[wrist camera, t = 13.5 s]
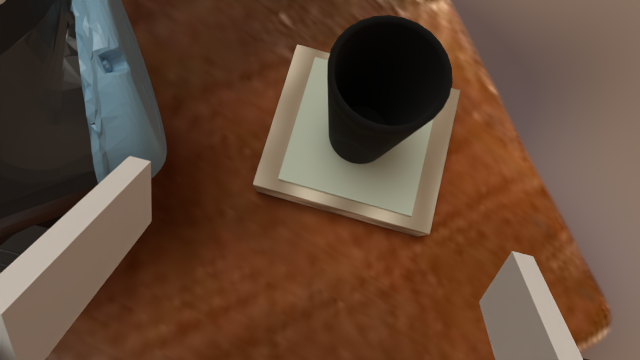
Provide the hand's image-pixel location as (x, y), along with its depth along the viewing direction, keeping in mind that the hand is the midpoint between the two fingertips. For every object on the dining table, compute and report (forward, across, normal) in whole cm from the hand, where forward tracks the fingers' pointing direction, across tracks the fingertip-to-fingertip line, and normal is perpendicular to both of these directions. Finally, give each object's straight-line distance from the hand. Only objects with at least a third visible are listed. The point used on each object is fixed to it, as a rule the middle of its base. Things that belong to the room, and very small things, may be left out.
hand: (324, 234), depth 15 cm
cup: (+22, +2, -6) cm, 23 cm away
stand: (+24, +2, -8) cm, 26 cm away
